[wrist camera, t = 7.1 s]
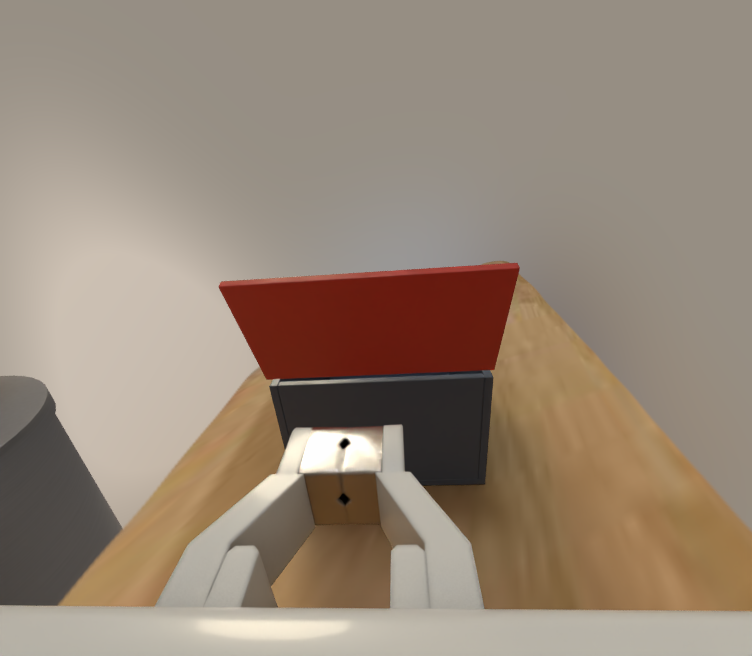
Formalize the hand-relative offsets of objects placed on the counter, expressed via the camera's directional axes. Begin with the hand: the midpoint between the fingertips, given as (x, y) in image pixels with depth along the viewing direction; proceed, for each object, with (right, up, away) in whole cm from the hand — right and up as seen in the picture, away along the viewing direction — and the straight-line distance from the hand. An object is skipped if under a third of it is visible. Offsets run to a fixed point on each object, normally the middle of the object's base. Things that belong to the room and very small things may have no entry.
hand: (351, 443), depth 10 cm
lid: (0, +3, +8) cm, 8 cm away
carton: (+2, -5, +20) cm, 21 cm away
